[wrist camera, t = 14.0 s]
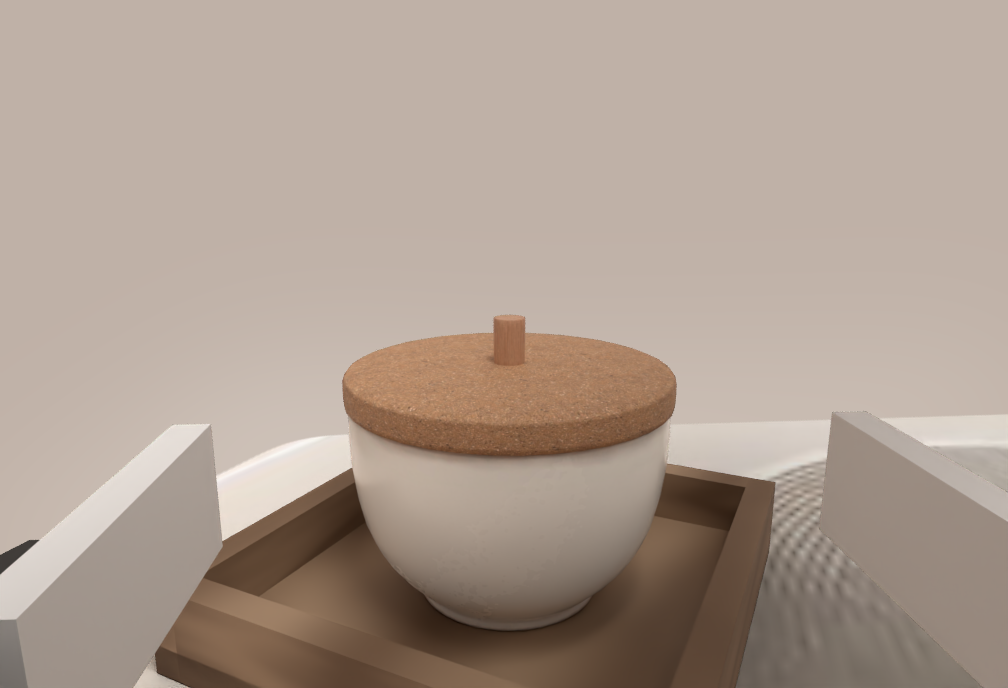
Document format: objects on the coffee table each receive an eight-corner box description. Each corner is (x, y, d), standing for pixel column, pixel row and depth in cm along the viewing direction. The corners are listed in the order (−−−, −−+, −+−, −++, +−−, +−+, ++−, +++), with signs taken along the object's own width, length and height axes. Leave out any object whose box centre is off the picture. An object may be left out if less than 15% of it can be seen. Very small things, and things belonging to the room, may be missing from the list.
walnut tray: (768, 550, 29) (775, 482, 28) (682, 899, 15) (691, 780, 14) (432, 479, 36) (431, 422, 35) (157, 672, 22) (146, 585, 21)
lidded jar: (724, 655, 21) (749, 347, 19) (355, 709, 19) (337, 368, 17) (601, 499, 31) (608, 287, 29) (352, 523, 29) (340, 296, 27)
